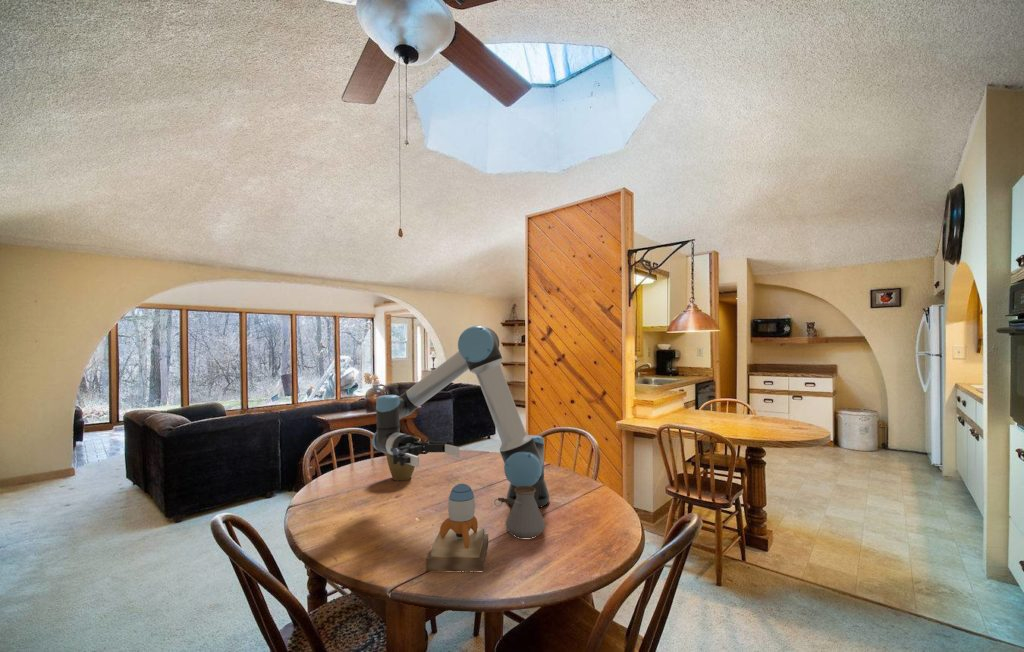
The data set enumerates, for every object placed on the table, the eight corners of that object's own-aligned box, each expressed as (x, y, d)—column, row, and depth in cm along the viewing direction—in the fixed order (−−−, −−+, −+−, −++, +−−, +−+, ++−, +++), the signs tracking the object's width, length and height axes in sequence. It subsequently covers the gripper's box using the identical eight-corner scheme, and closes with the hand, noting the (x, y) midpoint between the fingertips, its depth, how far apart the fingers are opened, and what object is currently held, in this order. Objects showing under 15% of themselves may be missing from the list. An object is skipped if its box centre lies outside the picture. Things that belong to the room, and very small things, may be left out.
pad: (488, 545, 116) (488, 526, 116) (482, 572, 102) (482, 551, 102) (438, 544, 116) (438, 526, 117) (426, 571, 102) (426, 550, 103)
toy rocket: (476, 553, 103) (463, 495, 102) (436, 556, 105) (423, 500, 104) (486, 529, 113) (474, 476, 112) (449, 532, 115) (437, 481, 114)
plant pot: (377, 483, 169) (377, 443, 170) (393, 472, 184) (393, 435, 185) (412, 484, 167) (412, 444, 168) (425, 473, 181) (425, 436, 182)
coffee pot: (518, 522, 131) (517, 473, 131) (551, 530, 125) (550, 479, 125) (479, 551, 112) (479, 495, 113) (516, 562, 106) (516, 502, 107)
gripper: (435, 450, 143) (473, 460, 127) (365, 466, 126) (399, 480, 110) (435, 428, 143) (473, 435, 128) (364, 441, 126) (398, 452, 111)
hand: (439, 456), depth 119 cm, fingers open, 13 cm apart
